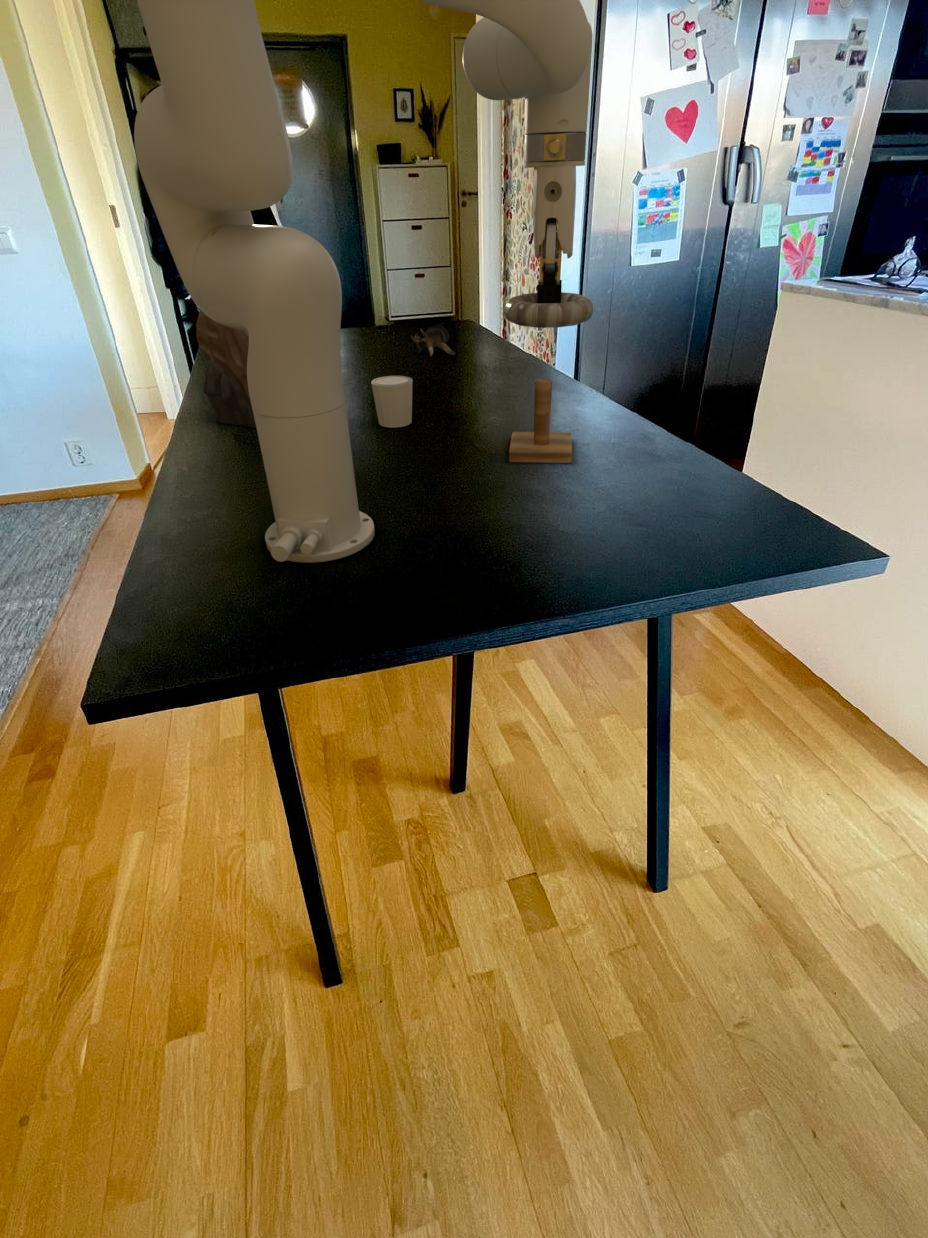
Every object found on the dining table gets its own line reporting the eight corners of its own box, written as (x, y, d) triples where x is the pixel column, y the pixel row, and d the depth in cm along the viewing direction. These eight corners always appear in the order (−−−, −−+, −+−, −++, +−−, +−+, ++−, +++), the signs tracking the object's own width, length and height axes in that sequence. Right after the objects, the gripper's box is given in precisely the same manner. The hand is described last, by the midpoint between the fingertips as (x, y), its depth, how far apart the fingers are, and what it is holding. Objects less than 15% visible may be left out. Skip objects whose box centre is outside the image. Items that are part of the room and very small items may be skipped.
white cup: (409, 429, 110) (406, 386, 106) (369, 427, 111) (365, 385, 107) (419, 416, 115) (417, 375, 111) (382, 415, 116) (378, 374, 113)
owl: (208, 422, 116) (177, 296, 104) (253, 402, 125) (229, 284, 114) (268, 429, 111) (242, 299, 100) (309, 408, 121) (291, 286, 110)
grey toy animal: (411, 353, 150) (449, 346, 148) (409, 322, 150) (446, 314, 148) (422, 365, 158) (458, 358, 155) (419, 335, 158) (456, 328, 155)
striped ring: (593, 329, 83) (594, 305, 81) (500, 329, 85) (501, 305, 83) (591, 312, 93) (592, 290, 91) (508, 312, 94) (508, 290, 92)
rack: (571, 463, 95) (576, 388, 90) (509, 462, 96) (510, 388, 91) (570, 441, 103) (575, 371, 97) (512, 441, 104) (513, 371, 98)
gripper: (587, 150, 74) (576, 326, 85) (584, 152, 88) (574, 303, 98) (521, 153, 75) (518, 326, 86) (527, 154, 89) (524, 304, 99)
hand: (548, 312), depth 92 cm, fingers closed on striped ring, 3 cm apart
